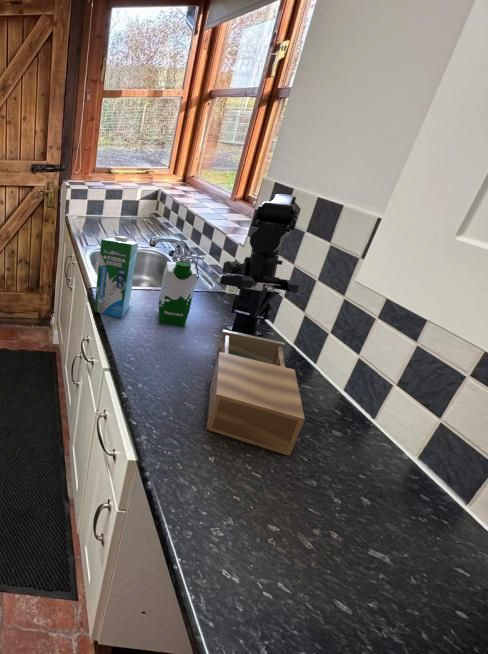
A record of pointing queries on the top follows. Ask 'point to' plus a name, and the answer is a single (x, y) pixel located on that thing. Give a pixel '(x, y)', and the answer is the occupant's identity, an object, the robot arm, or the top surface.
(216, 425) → the cabinet
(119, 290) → the milk carton
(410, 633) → the top surface
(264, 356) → the drawer
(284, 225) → the robot arm
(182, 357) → the top surface
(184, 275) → the soya milk
